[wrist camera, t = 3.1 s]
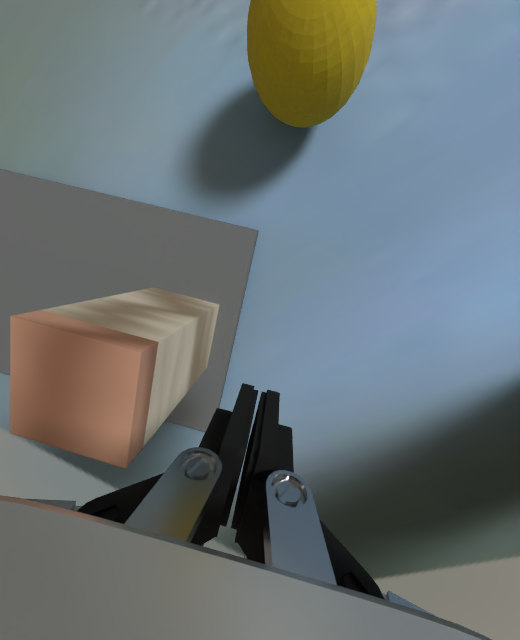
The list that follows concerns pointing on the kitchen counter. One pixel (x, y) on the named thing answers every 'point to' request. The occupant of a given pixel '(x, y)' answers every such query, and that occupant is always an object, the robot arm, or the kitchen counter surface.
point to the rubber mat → (120, 265)
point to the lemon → (308, 55)
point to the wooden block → (106, 370)
